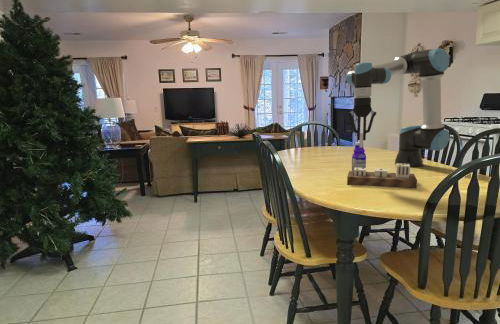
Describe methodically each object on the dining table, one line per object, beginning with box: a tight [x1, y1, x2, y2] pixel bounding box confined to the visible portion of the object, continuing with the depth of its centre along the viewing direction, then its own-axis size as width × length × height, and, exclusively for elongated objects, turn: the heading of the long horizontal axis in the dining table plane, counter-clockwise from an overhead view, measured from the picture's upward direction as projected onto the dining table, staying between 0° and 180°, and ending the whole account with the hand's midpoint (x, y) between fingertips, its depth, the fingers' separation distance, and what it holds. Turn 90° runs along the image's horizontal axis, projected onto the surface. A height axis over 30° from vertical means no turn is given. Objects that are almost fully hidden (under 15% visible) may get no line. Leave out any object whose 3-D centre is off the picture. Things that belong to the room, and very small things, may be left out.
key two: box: [354, 167, 367, 176], centre depth 161 cm, size 5×6×6 cm
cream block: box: [374, 167, 388, 177], centre depth 158 cm, size 5×6×6 cm
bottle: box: [351, 141, 367, 171], centre depth 176 cm, size 7×6×17 cm
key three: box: [395, 163, 411, 178], centre depth 154 cm, size 5×6×6 cm
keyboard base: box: [346, 170, 418, 190], centre depth 158 cm, size 30×13×4 cm, turn 70°
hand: (361, 147), depth 159 cm, fingers closed
